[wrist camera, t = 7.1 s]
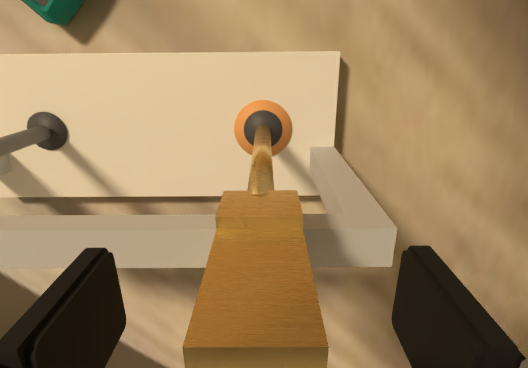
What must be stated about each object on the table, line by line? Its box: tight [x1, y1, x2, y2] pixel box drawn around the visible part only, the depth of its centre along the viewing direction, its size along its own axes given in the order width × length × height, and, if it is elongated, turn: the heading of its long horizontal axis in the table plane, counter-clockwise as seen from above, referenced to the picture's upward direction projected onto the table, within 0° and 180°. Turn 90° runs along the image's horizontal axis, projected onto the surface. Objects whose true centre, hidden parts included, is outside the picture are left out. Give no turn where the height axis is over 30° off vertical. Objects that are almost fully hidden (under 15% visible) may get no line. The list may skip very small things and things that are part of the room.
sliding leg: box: [183, 124, 328, 368], centre depth 17 cm, size 4×3×22 cm
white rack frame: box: [0, 51, 397, 269], centre depth 21 cm, size 12×30×17 cm, turn 90°
